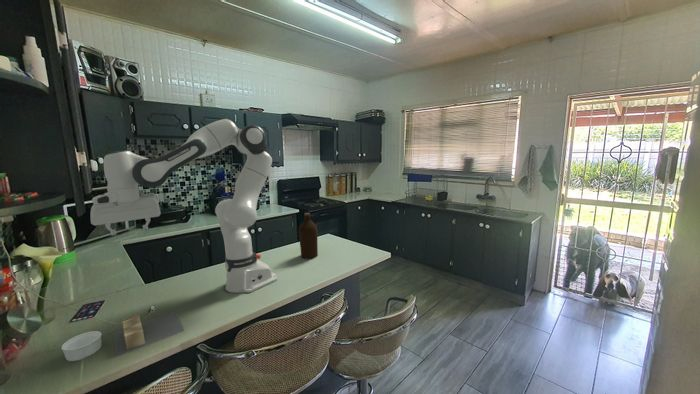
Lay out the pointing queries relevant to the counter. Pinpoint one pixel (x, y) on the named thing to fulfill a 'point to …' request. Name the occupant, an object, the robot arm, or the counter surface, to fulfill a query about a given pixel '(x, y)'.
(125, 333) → the birch block
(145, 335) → the rubber mat
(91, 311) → the smartphone
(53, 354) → the counter surface
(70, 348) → the ramekin
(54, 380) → the counter surface
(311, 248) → the olive oil
